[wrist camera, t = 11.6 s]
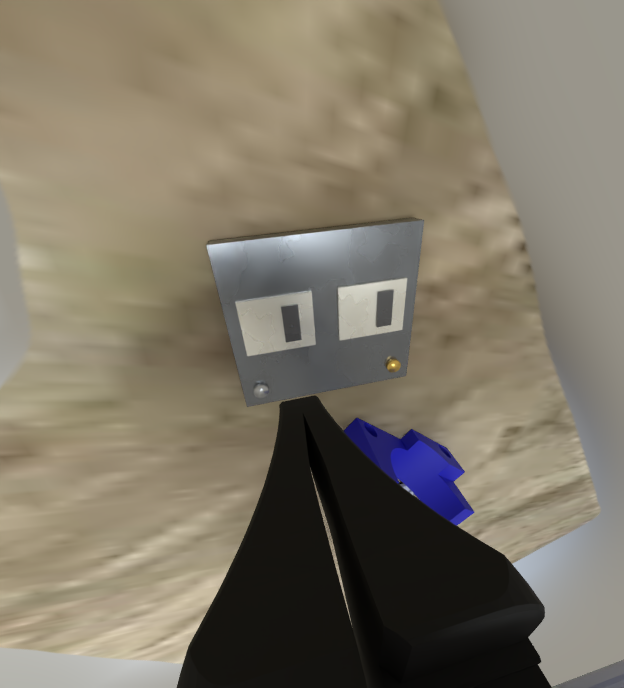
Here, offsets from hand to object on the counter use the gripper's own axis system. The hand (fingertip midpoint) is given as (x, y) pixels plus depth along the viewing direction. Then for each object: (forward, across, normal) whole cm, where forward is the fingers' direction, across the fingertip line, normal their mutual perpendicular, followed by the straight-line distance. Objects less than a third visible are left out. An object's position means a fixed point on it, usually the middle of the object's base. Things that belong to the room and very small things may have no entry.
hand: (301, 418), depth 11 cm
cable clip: (+10, -9, +15) cm, 20 cm away
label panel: (+9, -3, 0) cm, 10 cm away
